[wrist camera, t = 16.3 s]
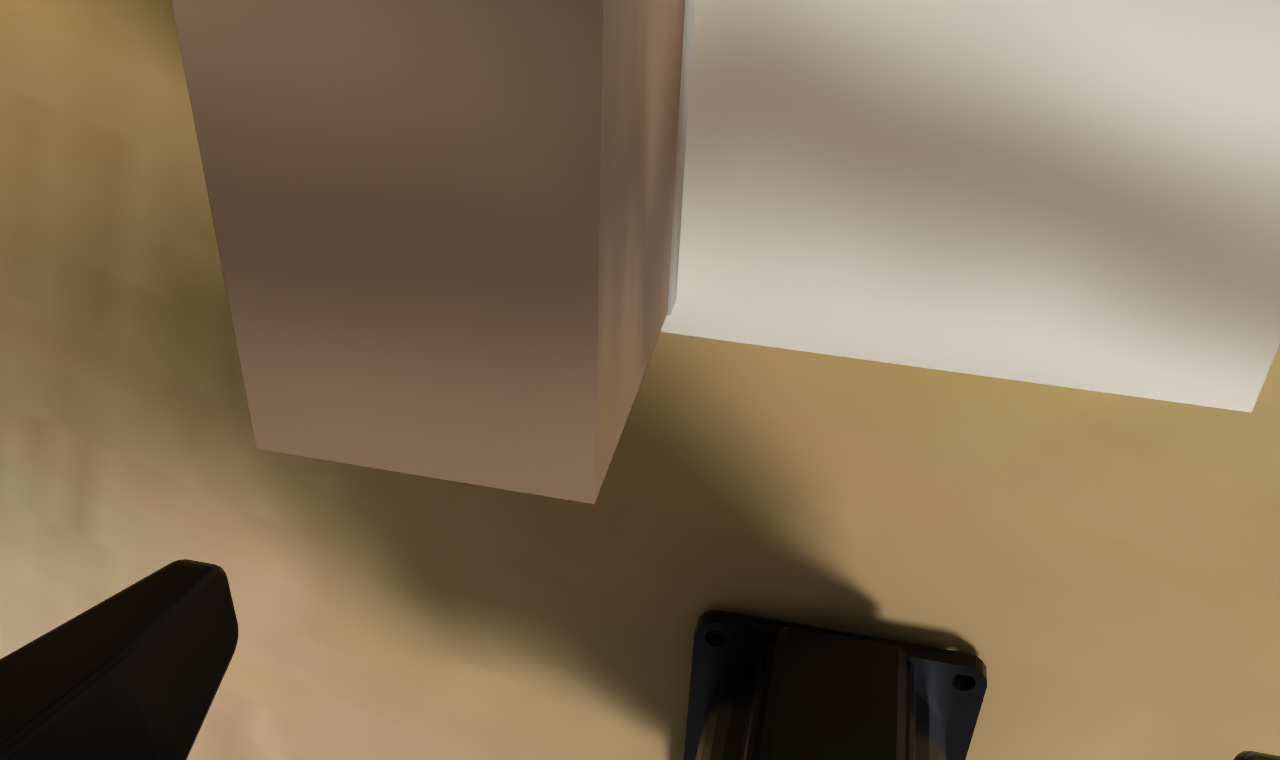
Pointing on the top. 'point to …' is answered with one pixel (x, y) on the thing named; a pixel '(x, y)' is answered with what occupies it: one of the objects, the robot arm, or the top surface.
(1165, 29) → the birch board
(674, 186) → the block
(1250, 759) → the robot arm
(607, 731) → the top surface
